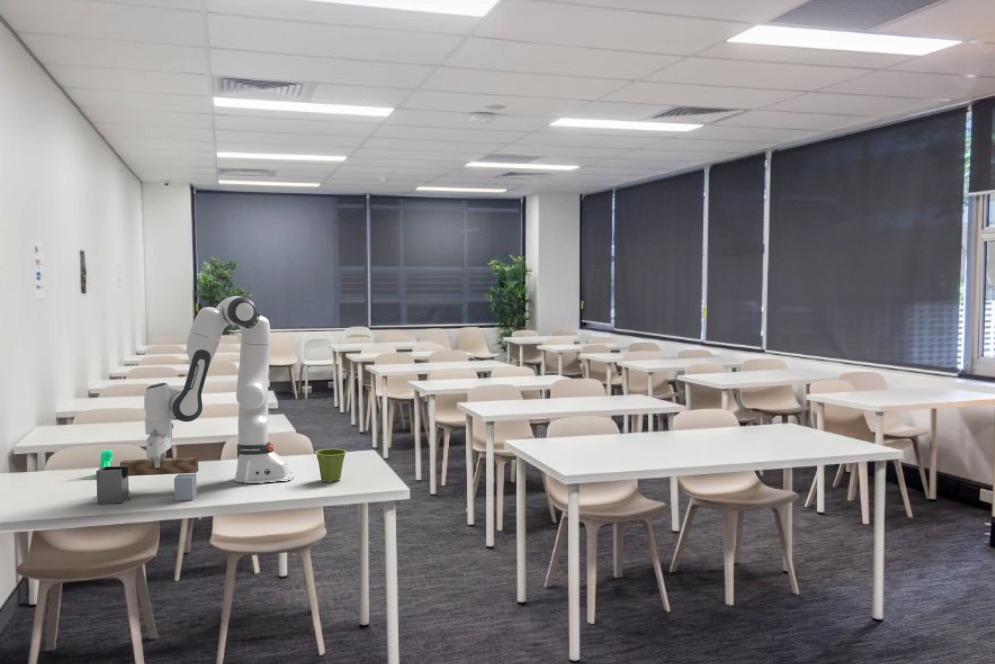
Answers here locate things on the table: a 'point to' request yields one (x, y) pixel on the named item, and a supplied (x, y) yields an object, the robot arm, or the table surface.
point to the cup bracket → (112, 484)
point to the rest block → (185, 487)
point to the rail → (166, 466)
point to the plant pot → (330, 463)
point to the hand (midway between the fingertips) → (159, 465)
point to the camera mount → (106, 458)
